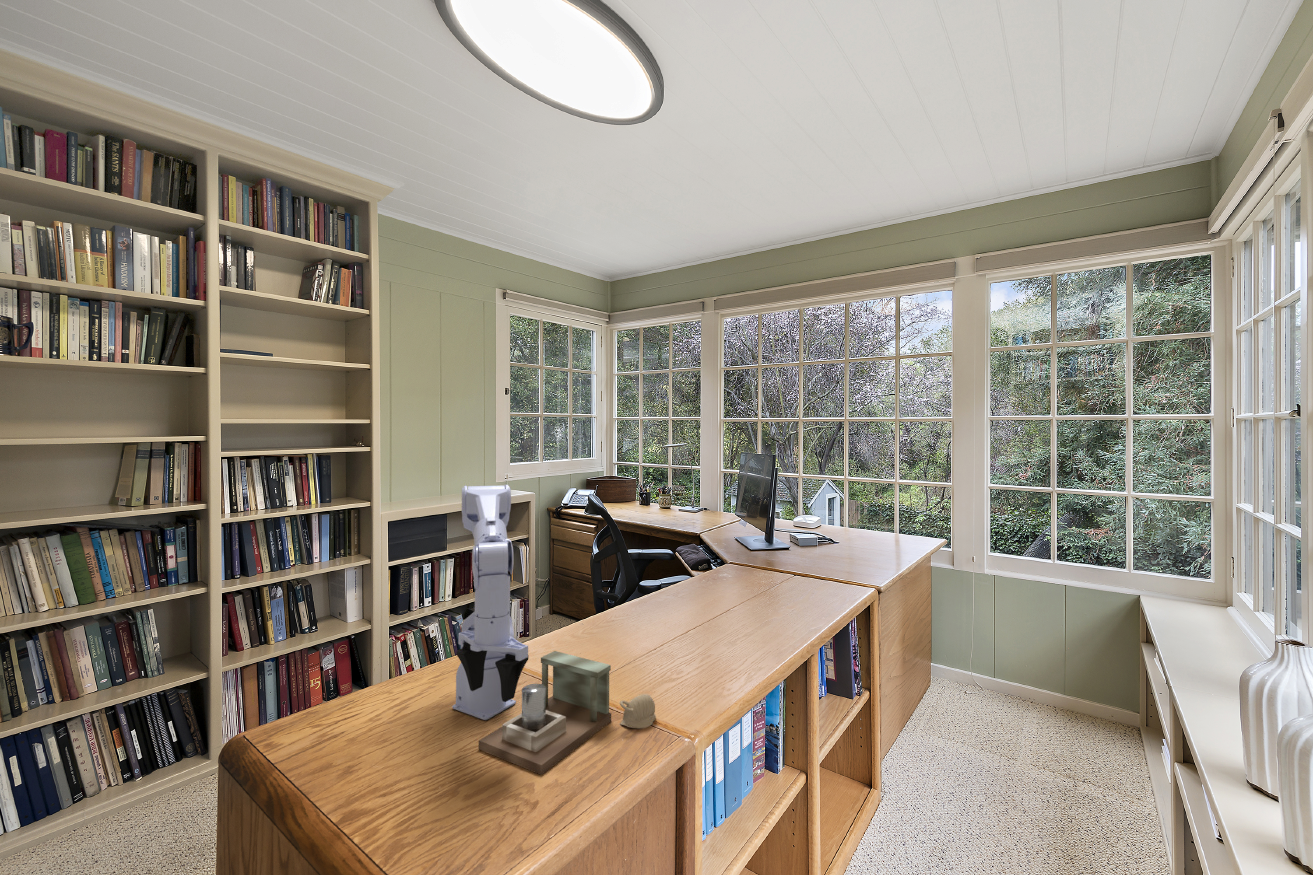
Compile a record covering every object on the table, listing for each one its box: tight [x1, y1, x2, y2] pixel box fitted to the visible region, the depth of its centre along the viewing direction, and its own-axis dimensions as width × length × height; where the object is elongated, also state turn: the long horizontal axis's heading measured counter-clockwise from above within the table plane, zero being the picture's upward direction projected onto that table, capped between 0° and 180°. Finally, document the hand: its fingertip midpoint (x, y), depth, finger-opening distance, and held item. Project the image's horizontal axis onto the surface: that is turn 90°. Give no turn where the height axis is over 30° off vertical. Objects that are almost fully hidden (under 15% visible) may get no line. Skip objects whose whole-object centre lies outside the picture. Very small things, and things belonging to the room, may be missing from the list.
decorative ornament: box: [619, 693, 657, 730], centre depth 100 cm, size 4×8×5 cm, turn 126°
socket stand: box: [478, 650, 612, 776], centre depth 97 cm, size 14×19×10 cm
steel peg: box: [521, 683, 546, 732], centre depth 93 cm, size 4×4×8 cm
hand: (492, 693), depth 92 cm, fingers open, 7 cm apart
